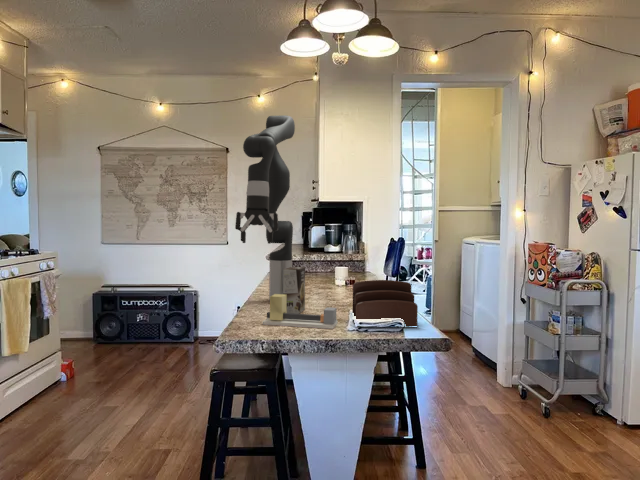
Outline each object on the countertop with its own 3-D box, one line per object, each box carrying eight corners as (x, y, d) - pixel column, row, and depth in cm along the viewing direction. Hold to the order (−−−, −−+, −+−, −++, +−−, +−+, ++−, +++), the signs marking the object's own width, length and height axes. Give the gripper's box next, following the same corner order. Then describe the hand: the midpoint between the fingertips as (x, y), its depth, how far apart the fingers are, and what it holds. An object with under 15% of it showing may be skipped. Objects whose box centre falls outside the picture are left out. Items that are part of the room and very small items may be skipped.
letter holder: (352, 321, 153) (352, 279, 152) (410, 321, 153) (411, 279, 153) (355, 328, 143) (355, 283, 142) (417, 328, 143) (418, 283, 143)
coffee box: (299, 314, 162) (300, 269, 161) (282, 313, 163) (282, 268, 162) (305, 309, 171) (305, 266, 170) (289, 308, 172) (289, 266, 171)
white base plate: (270, 319, 153) (270, 303, 153) (337, 323, 148) (337, 306, 148) (262, 324, 145) (262, 307, 145) (332, 328, 140) (333, 311, 140)
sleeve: (275, 316, 151) (275, 293, 151) (286, 316, 151) (286, 294, 150) (269, 319, 146) (269, 296, 146) (281, 320, 145) (281, 297, 145)
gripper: (279, 197, 157) (278, 243, 157) (238, 196, 157) (237, 242, 157) (277, 194, 149) (276, 243, 149) (234, 193, 150) (233, 242, 149)
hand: (256, 243), depth 153 cm, fingers open, 8 cm apart
